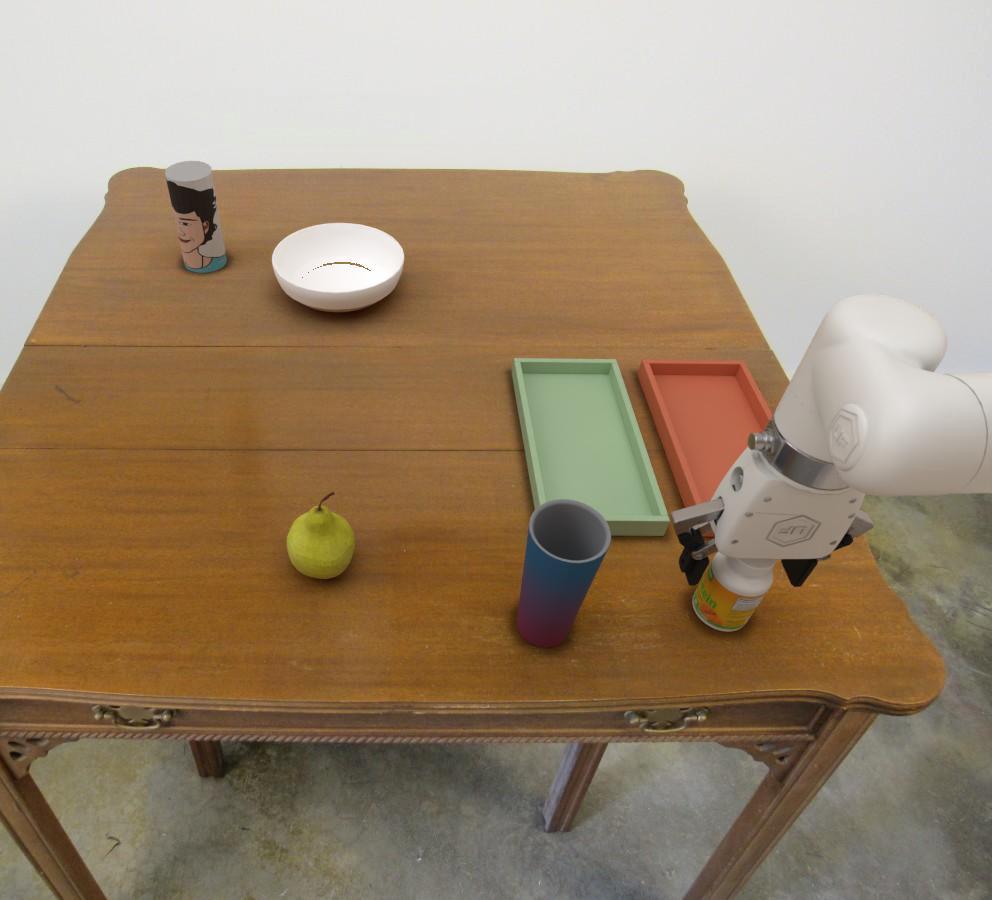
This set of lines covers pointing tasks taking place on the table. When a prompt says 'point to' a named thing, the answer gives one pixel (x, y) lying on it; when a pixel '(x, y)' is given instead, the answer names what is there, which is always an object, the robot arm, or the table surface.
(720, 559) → the supplement bottle
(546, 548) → the cup
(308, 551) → the fruit
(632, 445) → the sage tray
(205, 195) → the white printed cylinder
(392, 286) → the bowl
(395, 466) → the table surface
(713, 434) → the terracotta tray
